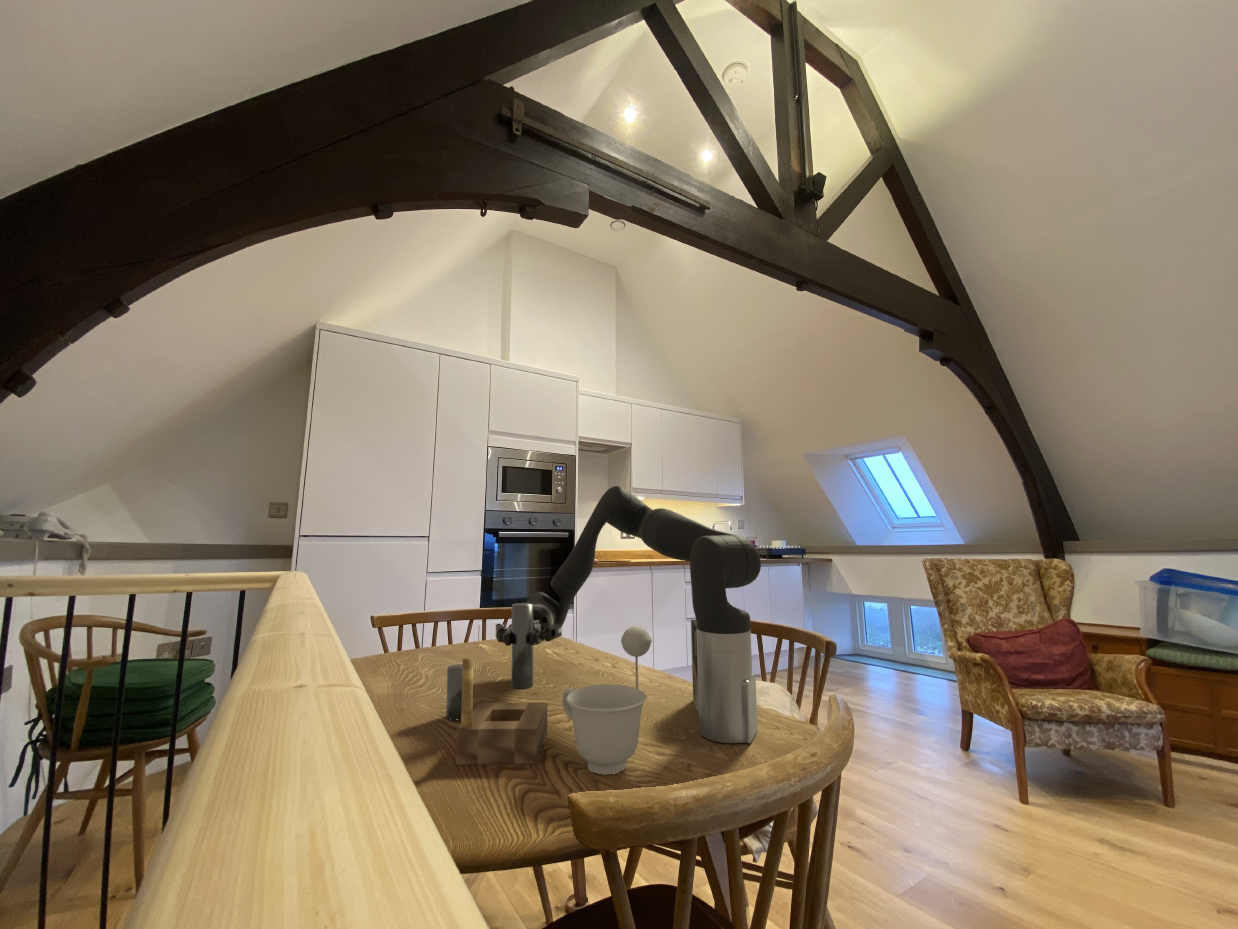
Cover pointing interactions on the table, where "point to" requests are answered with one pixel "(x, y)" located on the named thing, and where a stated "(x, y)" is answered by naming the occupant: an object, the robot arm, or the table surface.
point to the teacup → (605, 724)
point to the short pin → (454, 692)
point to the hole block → (498, 728)
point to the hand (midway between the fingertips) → (519, 639)
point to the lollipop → (636, 644)
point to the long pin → (522, 646)
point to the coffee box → (694, 663)
